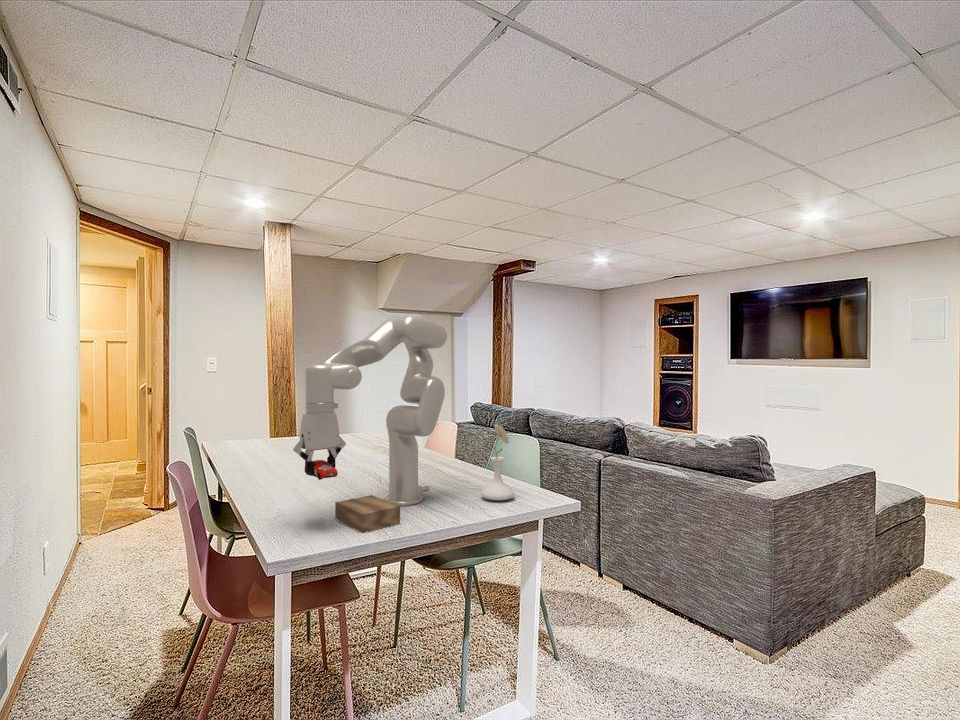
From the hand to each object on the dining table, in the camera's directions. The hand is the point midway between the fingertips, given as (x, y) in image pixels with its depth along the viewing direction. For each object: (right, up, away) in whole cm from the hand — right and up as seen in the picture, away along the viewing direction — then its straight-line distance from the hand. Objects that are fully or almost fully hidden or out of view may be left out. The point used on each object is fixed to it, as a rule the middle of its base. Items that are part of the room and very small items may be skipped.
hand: (320, 472), depth 143 cm
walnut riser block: (+12, -15, +4) cm, 20 cm away
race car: (0, -1, 0) cm, 1 cm away
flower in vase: (+51, -16, +30) cm, 61 cm away
